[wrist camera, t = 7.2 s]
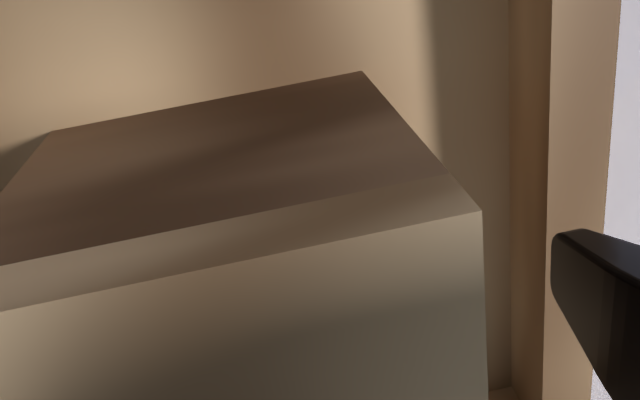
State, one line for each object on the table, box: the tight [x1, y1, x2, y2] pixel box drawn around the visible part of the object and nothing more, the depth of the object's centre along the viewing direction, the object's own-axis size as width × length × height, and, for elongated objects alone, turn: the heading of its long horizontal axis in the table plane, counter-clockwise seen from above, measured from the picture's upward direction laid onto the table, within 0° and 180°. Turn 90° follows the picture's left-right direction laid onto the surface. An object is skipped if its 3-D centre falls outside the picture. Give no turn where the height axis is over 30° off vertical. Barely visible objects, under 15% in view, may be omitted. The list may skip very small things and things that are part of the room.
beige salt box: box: [0, 71, 488, 400], centre depth 8 cm, size 5×5×5 cm
